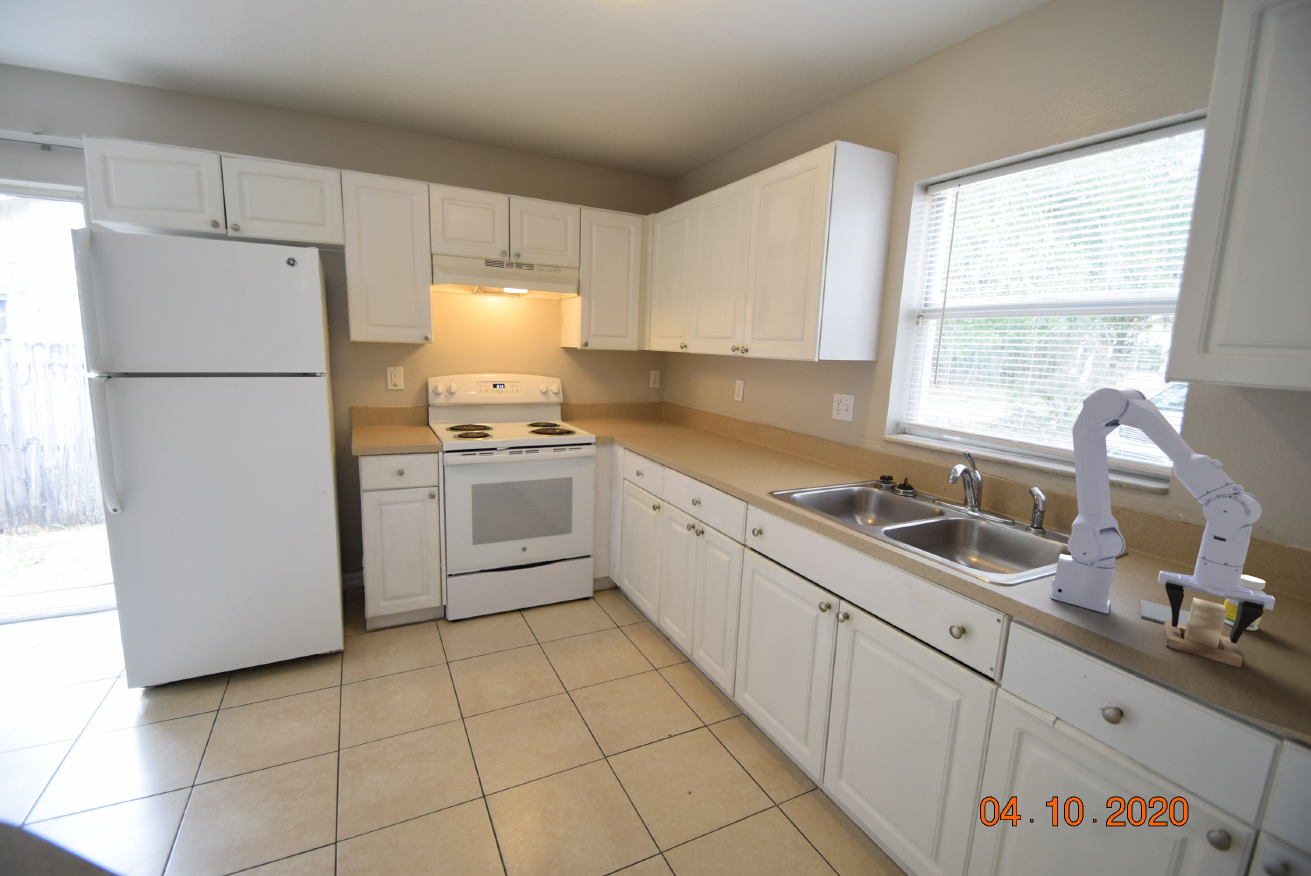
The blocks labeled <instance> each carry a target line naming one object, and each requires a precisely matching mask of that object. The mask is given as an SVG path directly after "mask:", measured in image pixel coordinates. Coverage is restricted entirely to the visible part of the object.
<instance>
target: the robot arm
mask: <svg viewBox="0 0 1311 876" xmlns="http://www.w3.org/2000/svg"><path fill="white" fill-rule="evenodd" d="M1121 425H1122V426H1127V427H1131V428H1134V429H1138V430H1140V431H1142V433H1144V435H1145V436H1146V437H1148V439H1150V441H1151V442H1152V443H1154V444H1155V445H1156V446H1157V448H1159V449H1160V450H1161V452H1163V454H1165V456H1167V457H1168V458H1169V459H1170V461H1172V463H1173V471H1172V472H1173V473H1172V474H1173V475H1174V476H1175V477H1176V478H1177V479H1178V481H1179V482H1180V483H1181V484H1182V485H1183V486H1184V487H1185V488H1186V490H1188V492H1189V493H1190V494H1191V495H1192V496H1193V497H1194V498H1195V499H1196V500H1197V501H1198V503H1199V504H1201V505H1203V506H1202V515H1203V516H1204V518H1205V520H1206V523H1205V527H1204V530H1203V534H1202V538H1201V542H1200V547H1199V551H1198V555H1197V559H1196V562H1195V563H1196V564H1195V568H1194V572H1193V575H1189V574H1188V575H1187V574H1181V573H1176V572H1170V571H1164V570H1159V573H1158V577H1157V583H1158V584H1161V585H1164V587H1165V591H1166V595H1167V598H1168V600H1169V604H1170V607H1171V610H1172V621H1171V624H1172V626H1173V627H1177V626H1178V621H1179V612H1180V610H1181V608H1182V604H1183V601H1184V597H1185V595H1184V594H1185V593H1184V592H1185V590H1184V589H1186V590H1189V591H1190V590H1191V591H1195V592H1197V593H1198V592H1199V593H1203V594H1206V595H1212V596H1216V597H1220V598H1228V599H1232V600H1236V601H1238V607H1237V613H1236V618H1235V622H1234V624H1233V626H1231V627H1232V628H1231V629H1230V630H1231V631H1230V633H1229V634H1230V635H1229V638H1230V641H1231V642H1232V643H1235V644H1237V645H1238V642H1239V639H1241V636H1242V635H1243V633H1245V631H1247V630H1246V629H1247V628H1248V627H1249V626H1250V625H1251V624H1252V623H1253V622H1254V621H1255V620H1257V619H1258V618H1260V617H1261V616H1262V617H1263V615H1264V611H1265V610H1270V611H1273V610H1274V607H1275V604H1276V603H1275V602H1276V599H1275V597H1274V596H1273V595H1269V594H1267V593H1266V594H1262V593H1259V592H1255V591H1252V590H1248V589H1245V588H1241V587H1238V586H1239V582H1240V578H1241V574H1242V575H1243V570H1244V566H1245V561H1246V558H1247V555H1248V549H1249V546H1250V542H1251V534H1252V531H1253V527H1254V526H1253V525H1252V524H1254V523H1256V522H1257V521H1258V520H1259V519H1260V518H1261V516H1262V514H1263V507H1262V505H1261V503H1260V501H1259V499H1258V498H1257V496H1255V495H1254V494H1252V493H1249V492H1246V491H1244V490H1245V488H1244V487H1243V485H1242V484H1236V483H1235V482H1234V480H1232V478H1230V476H1229V475H1228V474H1227V473H1226V472H1225V471H1224V470H1223V469H1222V468H1221V467H1223V463H1222V462H1221V461H1220V460H1219V459H1212V457H1210V455H1205V454H1199V453H1196V452H1195V451H1194V450H1193V449H1192V448H1191V446H1189V444H1188V443H1187V442H1186V440H1185V439H1183V437H1182V436H1181V434H1179V433H1178V431H1177V430H1176V429H1175V428H1174V427H1173V425H1172V424H1171V423H1170V422H1169V421H1168V420H1167V418H1166V417H1165V416H1164V414H1162V412H1161V411H1160V409H1158V407H1157V405H1156V404H1155V403H1154V402H1153V401H1151V400H1150V399H1148V398H1147V397H1146V395H1145V394H1144V393H1143V392H1142V391H1140V390H1138V389H1136V388H1129V387H1128V388H1127V387H1126V388H1113V387H1102V388H1098V389H1097V390H1095V391H1093V392H1092V393H1091V394H1089V395H1088V396H1087V397H1086V398H1084V399H1083V401H1082V409H1081V411H1080V413H1079V415H1078V416H1077V418H1076V420H1075V422H1074V424H1073V427H1072V442H1073V456H1074V459H1073V460H1074V469H1075V470H1074V471H1075V472H1074V473H1075V484H1076V499H1077V511H1078V514H1077V516H1076V517H1075V519H1074V521H1073V522H1072V524H1071V534H1070V536H1069V538H1068V541H1067V548H1068V551H1069V553H1070V554H1064V553H1061V554H1059V557H1058V562H1057V565H1056V571H1055V575H1054V578H1052V582H1051V587H1052V590H1051V596H1050V599H1052V600H1056V601H1058V602H1059V601H1060V602H1062V603H1066V604H1071V605H1074V606H1078V607H1080V608H1084V609H1089V610H1092V611H1095V612H1099V613H1102V614H1107V615H1108V614H1109V612H1110V603H1111V600H1110V598H1109V597H1110V594H1111V592H1110V591H1111V588H1112V583H1113V579H1114V578H1113V577H1114V574H1115V569H1116V564H1117V563H1116V557H1119V556H1121V555H1122V554H1123V553H1124V551H1125V549H1126V540H1125V538H1124V536H1123V534H1122V533H1121V531H1120V528H1119V522H1118V520H1116V518H1115V517H1114V515H1113V514H1112V505H1111V504H1112V503H1111V489H1110V476H1109V466H1108V465H1109V463H1108V449H1107V439H1106V438H1107V436H1108V435H1110V434H1111V433H1112V432H1114V431H1115V430H1116V429H1117V428H1118V427H1120V426H1121ZM1263 608H1264V611H1263Z"/></svg>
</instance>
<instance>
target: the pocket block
mask: <svg viewBox="0 0 1311 876" xmlns="http://www.w3.org/2000/svg"><path fill="white" fill-rule="evenodd" d="M1162 629H1163V637H1164V639H1163V640H1164V644H1165V645H1166V646H1165V645H1164V646H1165V647H1167V646H1169V647H1168V648H1171V649H1174V648H1175V649H1174V650H1178V649H1180V650H1179V651H1181V650H1182V652H1184V651H1185V653H1188V652H1190V653H1189V654H1191V653H1194V654H1193V655H1195V654H1196V656H1198V655H1199V657H1202V656H1203V657H1202V658H1205V657H1207V658H1206V659H1208V658H1209V660H1212V661H1215V660H1216V661H1215V662H1220V663H1223V664H1227V665H1230V666H1232V667H1236V668H1241V667H1242V664H1243V657H1242V654H1241V652H1240V649H1239V647H1238V643H1237V644H1235V643H1232V642H1231V641H1230V636H1226V635H1225V636H1224V635H1222V634H1221V637H1220V641H1219V645H1218V648H1214V647H1211V646H1207V645H1204V644H1200V643H1196V642H1193V641H1189V640H1186V639H1183V638H1184V634H1185V630H1186V626H1185V625H1181V624H1178V626H1177V627H1173V626H1172V624H1171V622H1170V621H1166V620H1165V622H1164V624H1163V627H1162ZM1182 637H1183V638H1182Z"/></svg>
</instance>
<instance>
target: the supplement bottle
mask: <svg viewBox="0 0 1311 876" xmlns="http://www.w3.org/2000/svg"><path fill="white" fill-rule="evenodd" d="M1238 587H1241V588H1245V589H1248V590H1252V591H1255V592H1259V593H1262V594H1266V595H1267V593H1266V592H1264V589H1265V588H1266V581H1265V580H1264V579H1261V578H1259V577H1255V576H1251V575H1249V574H1243V573H1242V574H1241V578H1240V582H1239V586H1238ZM1223 605H1224V607H1225V609H1226V612H1227V613H1226V617H1225V621H1224V624H1226V625H1230V626H1231V627H1233V624H1234V622H1235V618H1236V613H1237V607H1238V601H1236V600H1232V599H1228V598H1225V599H1224V604H1223ZM1263 611H1265V608H1263ZM1262 617H1263V615H1262V616H1261V617H1260V618H1258V619H1257V620H1255V621H1254V622H1253V623H1252V624H1251V625H1250V626H1249V627H1248V628H1247V629H1246V630H1245V631H1257V630H1258V629H1259V628H1260V625H1261V621H1262Z"/></svg>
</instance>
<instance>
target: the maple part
mask: <svg viewBox="0 0 1311 876" xmlns="http://www.w3.org/2000/svg"><path fill="white" fill-rule="evenodd" d="M1189 612H1190V613H1189V617H1188V621H1187V626H1186V630H1185V634H1184V637H1183V638H1184V639H1186V640H1189V641H1193V642H1196V643H1200V644H1204V645H1207V646H1211V647H1214V648H1218V649H1219V646H1218V645H1219V641H1220V637H1221V635H1222V633H1223V629H1224V624H1225V622H1224V621H1225V617H1226V613H1227V612H1226V609H1225V607H1224V604H1222V603H1217V602H1213V601H1208V600H1205V599H1202V598H1197V597H1192V601H1191V606H1190V610H1189Z"/></svg>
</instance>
